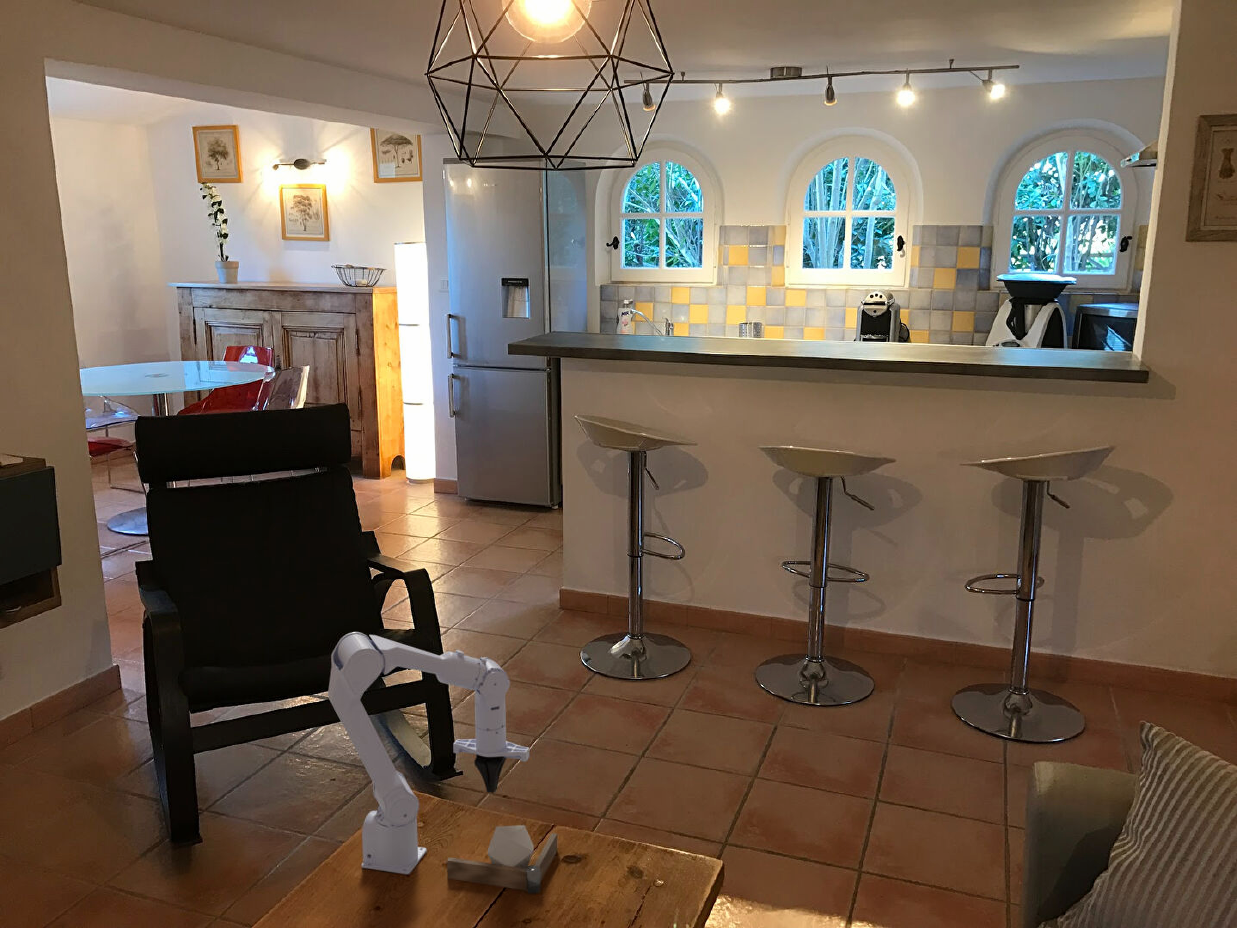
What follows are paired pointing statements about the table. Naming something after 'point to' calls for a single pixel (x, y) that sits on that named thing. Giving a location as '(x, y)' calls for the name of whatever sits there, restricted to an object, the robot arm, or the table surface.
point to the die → (511, 846)
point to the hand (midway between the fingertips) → (492, 790)
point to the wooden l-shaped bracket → (505, 870)
